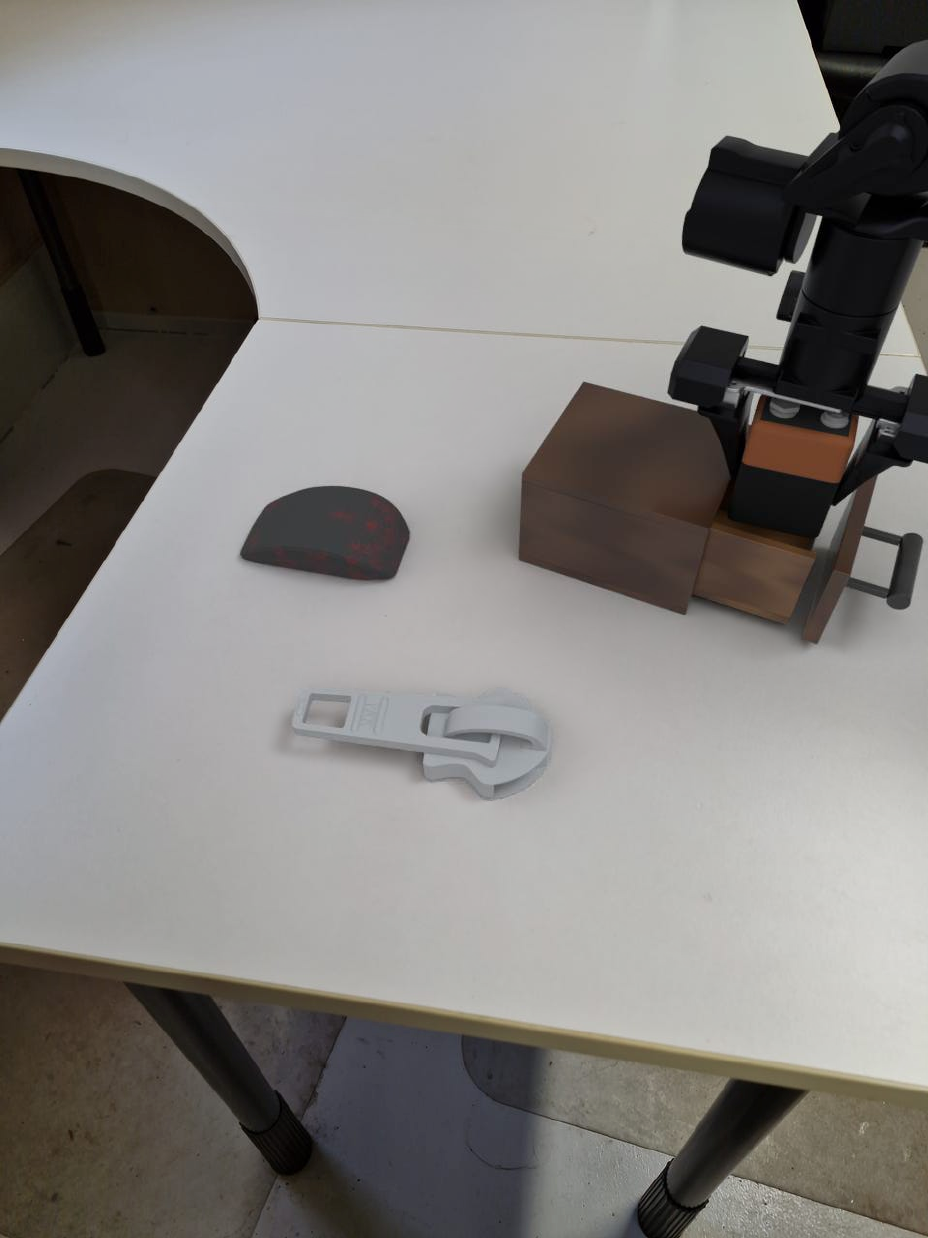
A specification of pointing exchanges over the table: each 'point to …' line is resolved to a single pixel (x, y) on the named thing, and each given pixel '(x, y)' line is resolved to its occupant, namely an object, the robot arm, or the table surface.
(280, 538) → the dark grey half-round block
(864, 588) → the drawer
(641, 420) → the cabinet
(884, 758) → the table surface
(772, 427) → the battery
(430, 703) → the zipper pull
